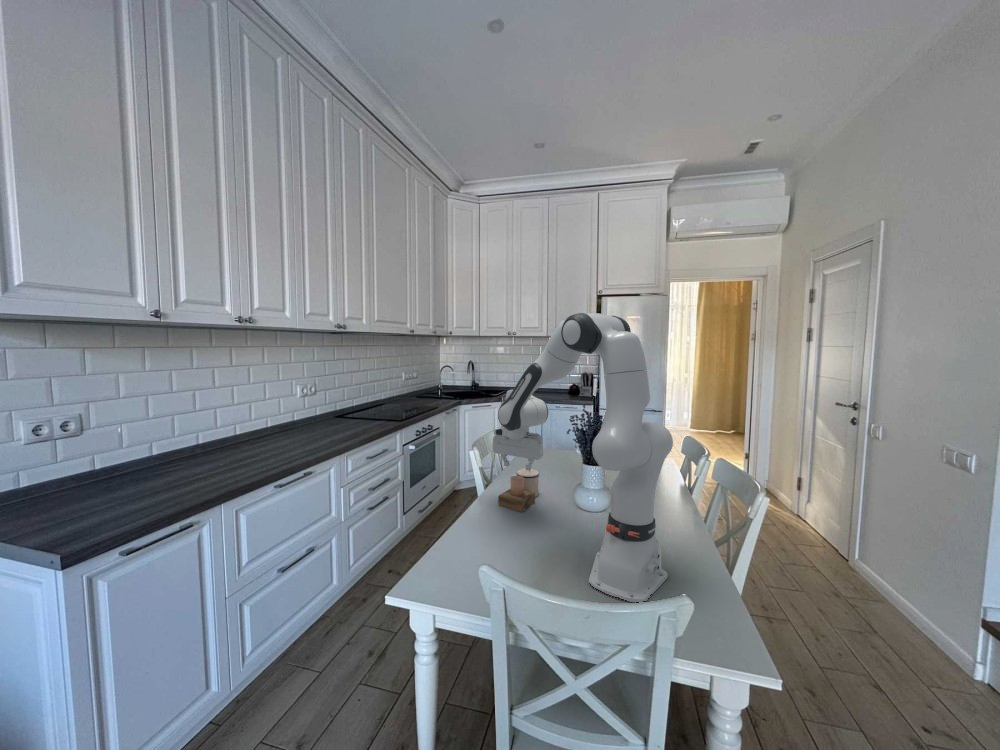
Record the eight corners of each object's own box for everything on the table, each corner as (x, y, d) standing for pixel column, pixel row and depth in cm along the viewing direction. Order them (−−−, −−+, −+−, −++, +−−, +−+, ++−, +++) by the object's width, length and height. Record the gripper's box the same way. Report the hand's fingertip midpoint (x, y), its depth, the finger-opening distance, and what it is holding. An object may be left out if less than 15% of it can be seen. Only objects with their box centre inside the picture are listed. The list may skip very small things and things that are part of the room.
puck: (519, 497, 144) (519, 481, 144) (507, 494, 147) (508, 478, 147) (526, 493, 148) (526, 477, 148) (514, 490, 151) (515, 474, 151)
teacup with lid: (542, 492, 160) (542, 464, 159) (534, 500, 152) (534, 470, 151) (515, 487, 166) (515, 460, 165) (506, 495, 157) (506, 466, 156)
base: (521, 512, 141) (521, 500, 141) (498, 506, 147) (498, 495, 146) (534, 503, 150) (534, 492, 149) (512, 497, 155) (512, 486, 155)
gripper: (546, 432, 143) (546, 469, 144) (499, 427, 154) (499, 461, 155) (538, 435, 137) (538, 474, 138) (489, 429, 149) (490, 465, 150)
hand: (517, 467), depth 147 cm, fingers open, 8 cm apart
